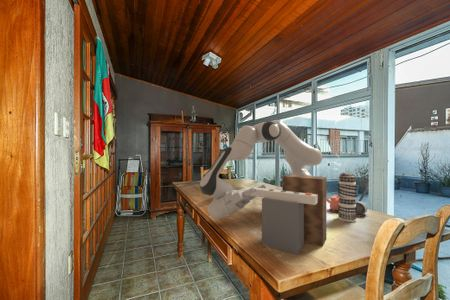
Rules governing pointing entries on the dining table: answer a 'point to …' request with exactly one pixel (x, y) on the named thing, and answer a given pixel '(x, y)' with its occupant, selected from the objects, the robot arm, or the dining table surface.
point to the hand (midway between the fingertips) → (259, 187)
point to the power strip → (286, 195)
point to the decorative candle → (347, 197)
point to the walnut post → (312, 213)
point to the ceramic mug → (360, 208)
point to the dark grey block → (283, 225)
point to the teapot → (333, 202)
